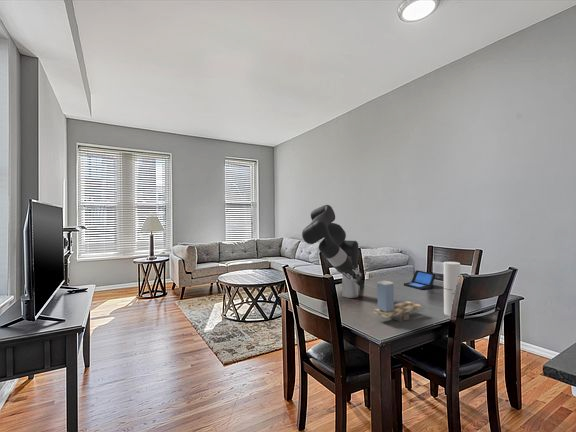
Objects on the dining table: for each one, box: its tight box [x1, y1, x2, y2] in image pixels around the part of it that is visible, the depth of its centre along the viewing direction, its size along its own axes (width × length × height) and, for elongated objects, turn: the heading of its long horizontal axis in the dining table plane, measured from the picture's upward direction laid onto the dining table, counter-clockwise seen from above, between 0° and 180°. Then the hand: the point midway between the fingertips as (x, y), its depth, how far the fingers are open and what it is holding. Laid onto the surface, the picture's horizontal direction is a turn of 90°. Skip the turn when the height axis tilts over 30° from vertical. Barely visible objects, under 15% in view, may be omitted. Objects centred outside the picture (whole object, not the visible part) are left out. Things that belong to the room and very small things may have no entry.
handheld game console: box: [403, 270, 436, 291], centre depth 202 cm, size 16×13×9 cm
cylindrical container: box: [442, 261, 461, 317], centre depth 148 cm, size 7×7×25 cm
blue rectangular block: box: [376, 280, 395, 312], centre depth 140 cm, size 5×5×14 cm
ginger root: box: [372, 300, 422, 323], centre depth 144 cm, size 24×8×5 cm, turn 120°
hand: (361, 284), depth 132 cm, fingers closed
